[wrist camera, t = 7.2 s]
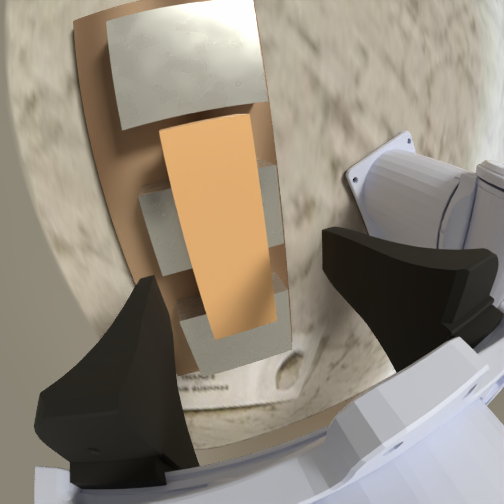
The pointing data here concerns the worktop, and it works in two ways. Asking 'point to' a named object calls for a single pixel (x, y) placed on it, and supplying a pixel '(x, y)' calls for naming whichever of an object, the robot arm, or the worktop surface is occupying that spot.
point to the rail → (185, 102)
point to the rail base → (149, 162)
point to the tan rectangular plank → (222, 219)
